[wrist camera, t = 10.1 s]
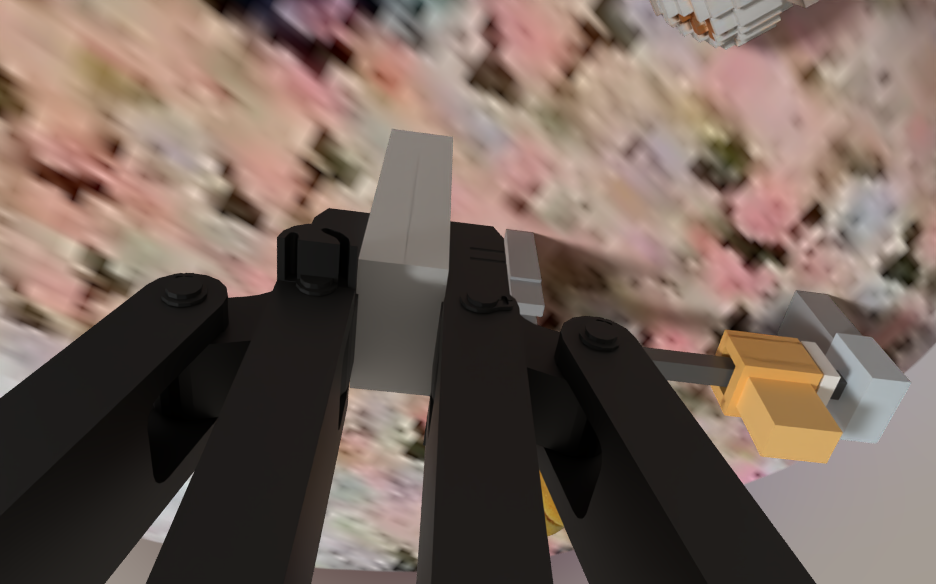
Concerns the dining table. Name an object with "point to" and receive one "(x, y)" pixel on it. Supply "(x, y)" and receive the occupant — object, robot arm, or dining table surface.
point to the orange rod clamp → (777, 397)
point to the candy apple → (724, 18)
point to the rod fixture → (808, 318)
